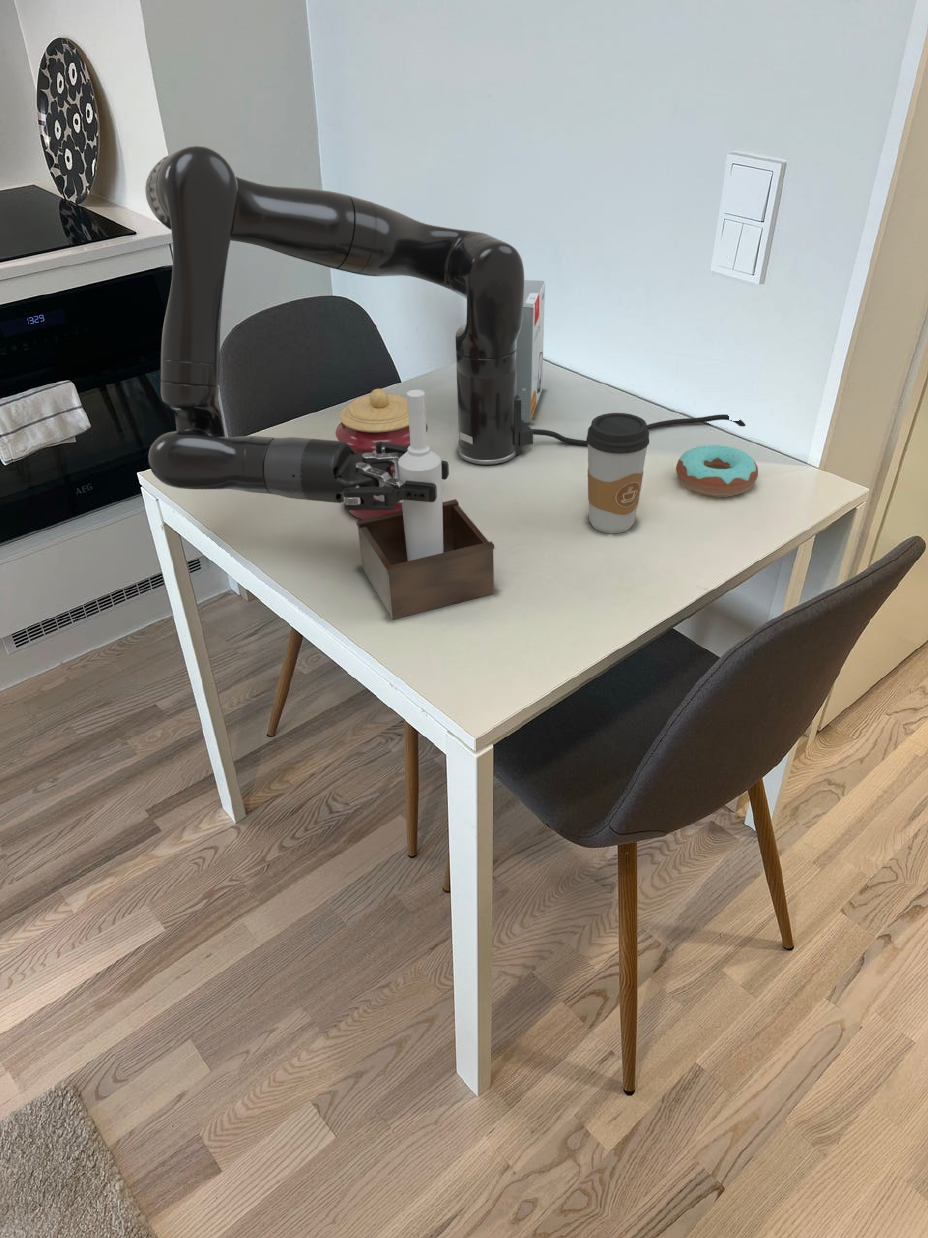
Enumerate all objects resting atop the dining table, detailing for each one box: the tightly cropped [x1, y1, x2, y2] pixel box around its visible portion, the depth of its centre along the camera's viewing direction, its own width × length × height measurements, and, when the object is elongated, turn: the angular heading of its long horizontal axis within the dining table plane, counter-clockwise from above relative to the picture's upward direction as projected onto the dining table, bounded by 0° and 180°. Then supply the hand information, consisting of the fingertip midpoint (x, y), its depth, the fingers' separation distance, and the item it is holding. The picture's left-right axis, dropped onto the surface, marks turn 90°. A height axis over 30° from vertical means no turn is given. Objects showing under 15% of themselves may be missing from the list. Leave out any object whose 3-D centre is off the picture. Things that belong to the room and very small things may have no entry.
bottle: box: [398, 389, 443, 561], centre depth 113 cm, size 5×5×25 cm
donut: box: [675, 444, 759, 498], centre depth 139 cm, size 12×12×4 cm
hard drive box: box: [516, 279, 546, 424], centre depth 160 cm, size 16×8×20 cm, turn 168°
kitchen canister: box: [335, 388, 429, 520], centre depth 133 cm, size 13×13×18 cm
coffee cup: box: [585, 412, 650, 534], centre depth 127 cm, size 8×8×15 cm
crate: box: [355, 498, 495, 620], centre depth 119 cm, size 14×13×7 cm
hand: (441, 481), depth 112 cm, fingers closed on bottle, 5 cm apart
